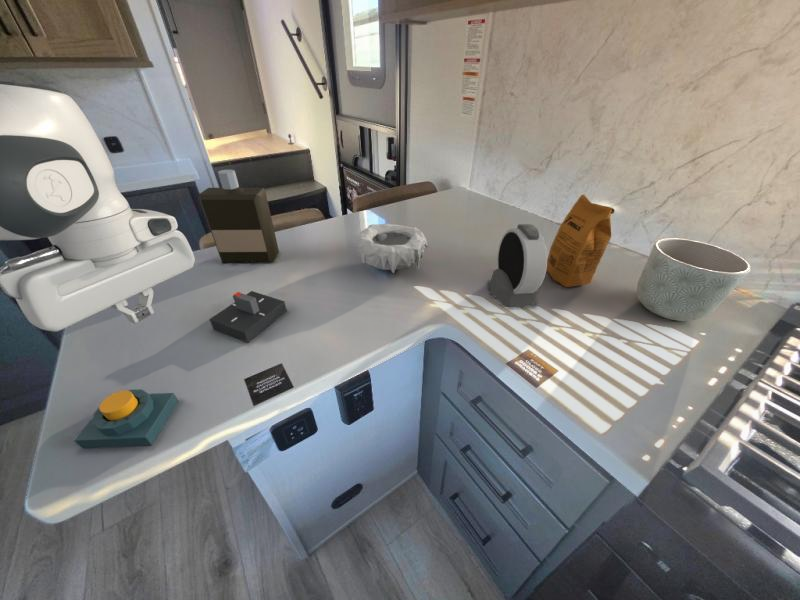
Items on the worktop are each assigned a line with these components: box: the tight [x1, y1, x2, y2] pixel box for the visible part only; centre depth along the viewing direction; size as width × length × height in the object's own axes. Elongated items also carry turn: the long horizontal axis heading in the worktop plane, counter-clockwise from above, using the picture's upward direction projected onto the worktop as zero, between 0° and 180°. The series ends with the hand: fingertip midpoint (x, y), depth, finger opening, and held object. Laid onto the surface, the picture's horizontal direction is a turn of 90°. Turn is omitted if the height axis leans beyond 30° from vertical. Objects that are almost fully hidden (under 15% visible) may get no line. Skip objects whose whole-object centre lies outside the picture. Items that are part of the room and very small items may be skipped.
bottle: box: [198, 169, 280, 264], centre depth 89 cm, size 8×16×25 cm, turn 93°
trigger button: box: [98, 390, 138, 421], centre depth 48 cm, size 4×4×2 cm
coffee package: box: [546, 194, 615, 288], centre depth 84 cm, size 10×12×22 cm
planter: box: [636, 237, 752, 322], centre depth 74 cm, size 17×17×15 cm
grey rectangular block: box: [232, 291, 259, 314], centre depth 69 cm, size 5×2×4 cm, turn 66°
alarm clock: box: [489, 223, 548, 308], centre depth 78 cm, size 16×10×18 cm, turn 6°
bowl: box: [356, 223, 429, 274], centre depth 91 cm, size 21×20×10 cm
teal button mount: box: [73, 389, 179, 449], centre depth 49 cm, size 10×8×4 cm
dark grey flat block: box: [209, 290, 288, 344], centre depth 71 cm, size 12×10×3 cm
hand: (142, 317), depth 49 cm, fingers closed
